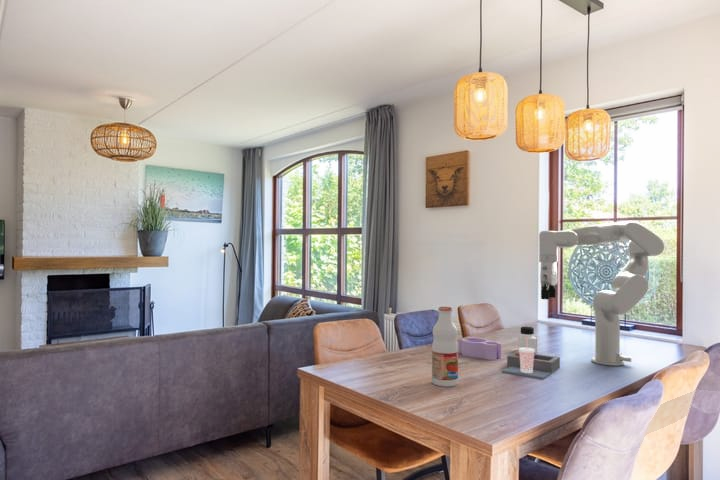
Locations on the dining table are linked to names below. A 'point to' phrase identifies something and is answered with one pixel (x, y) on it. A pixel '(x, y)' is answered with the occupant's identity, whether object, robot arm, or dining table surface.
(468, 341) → the purple cup holder
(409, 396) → the dining table surface
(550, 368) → the grey desk organizer
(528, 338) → the medicine bottle
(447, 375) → the fruit juice
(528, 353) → the beverage cup
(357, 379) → the dining table surface
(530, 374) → the mat
